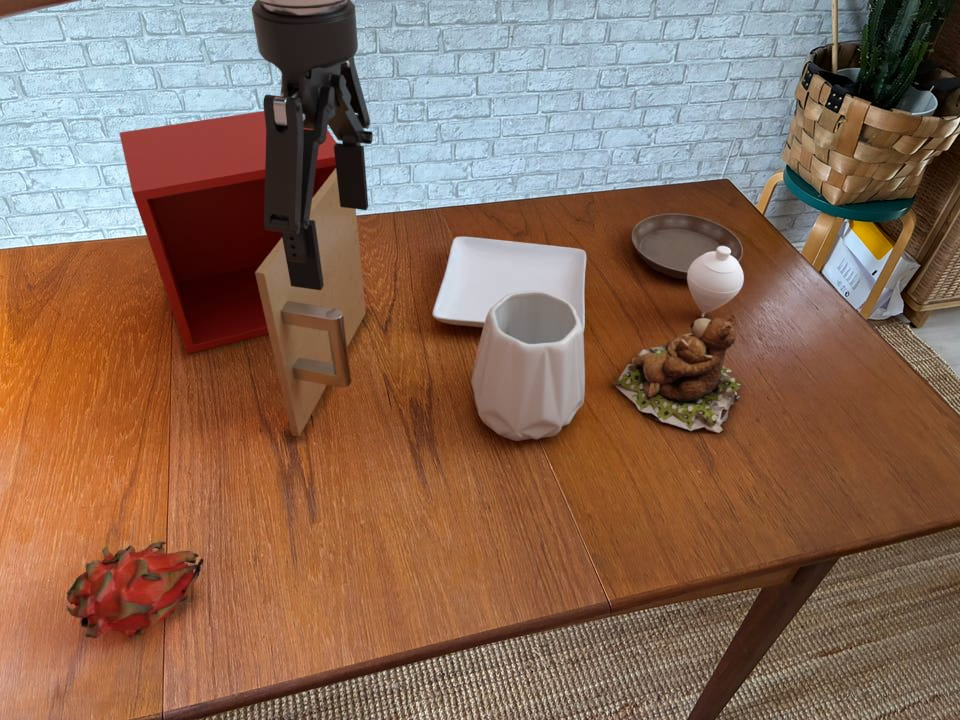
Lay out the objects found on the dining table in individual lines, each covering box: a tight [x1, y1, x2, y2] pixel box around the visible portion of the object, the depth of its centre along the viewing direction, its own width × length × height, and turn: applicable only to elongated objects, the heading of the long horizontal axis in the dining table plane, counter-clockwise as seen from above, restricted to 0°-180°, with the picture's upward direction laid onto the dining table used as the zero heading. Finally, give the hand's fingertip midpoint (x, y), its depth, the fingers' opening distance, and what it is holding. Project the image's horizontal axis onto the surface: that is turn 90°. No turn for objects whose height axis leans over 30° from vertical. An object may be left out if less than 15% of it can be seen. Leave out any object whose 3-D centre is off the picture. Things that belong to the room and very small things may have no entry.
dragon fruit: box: [66, 541, 205, 640], centre depth 66 cm, size 8×8×12 cm
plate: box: [431, 236, 587, 333], centre depth 105 cm, size 21×21×3 cm
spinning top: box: [686, 246, 745, 318], centre depth 100 cm, size 8×8×12 cm
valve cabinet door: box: [255, 168, 367, 438], centre depth 85 cm, size 7×24×24 cm, turn 168°
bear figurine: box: [613, 314, 742, 434], centre depth 89 cm, size 14×15×12 cm
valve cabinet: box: [118, 110, 337, 355], centre depth 96 cm, size 16×24×24 cm, turn 115°
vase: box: [470, 291, 586, 442], centre depth 84 cm, size 14×14×15 cm
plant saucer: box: [631, 213, 744, 281], centre depth 115 cm, size 18×18×3 cm
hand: (332, 243), depth 66 cm, fingers open, 13 cm apart
